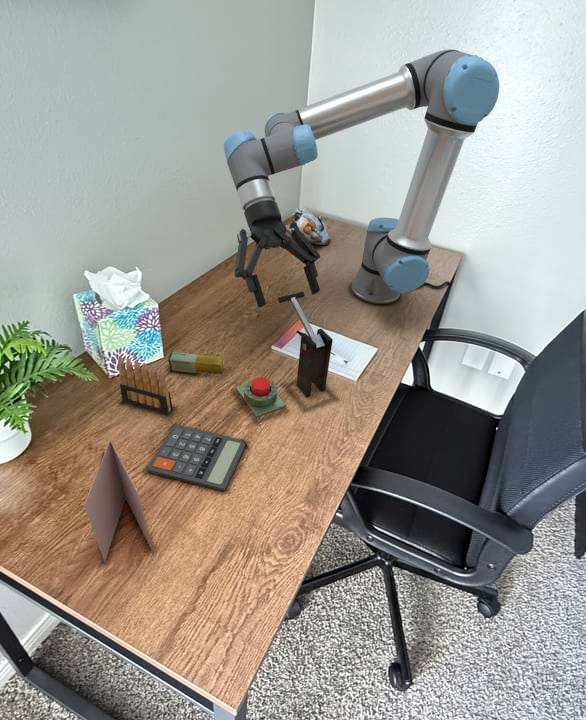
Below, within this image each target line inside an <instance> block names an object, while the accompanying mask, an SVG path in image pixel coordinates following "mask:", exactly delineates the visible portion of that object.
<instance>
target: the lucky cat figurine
mask: <svg viewBox="0 0 586 720" xmlns="http://www.w3.org/2000/svg"><path fill="white" fill-rule="evenodd" d="M294 222H296V223H297V226H298V228H299V230H300V231H301V233H302V234H303V235H304V236H305V237H306V239H307V240H308V241H309V242H310V243H311V244H313V245H322V246H327V245H328V243H329V242H330V240H332V237H331V235H330V233H329V232H328V228H327V225H326V223H324V221H323V218H322V216H321V215H319V216H316V215H315V214H314V213H313V212H312V211H308V210H304V211H303V210H302V211H301V209H300V208H294Z"/></svg>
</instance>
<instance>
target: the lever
mask: <svg viewBox="0 0 586 720" xmlns="http://www.w3.org/2000/svg"><path fill="white" fill-rule="evenodd" d="M305 296H306V295H305V292H304V291H298V292H295V293H290V294H285V295H282V296H279V297H278V298H277V301H278V303H279V304H283V303H287V302H290V304H291V306H292V308H293V311H294V312H295V313H296V315H297V317H298V319H299V321H300V323H301V325H302V327H303V329H304V330H305V332H306V334H307V335H308V336H309V337H310V338H311V339H312V340H313V341H314V342H315V343H316V344H317V346H316V352H318V351H321V350H322V349H323V348H324V346H325V343H324V342H323V340H322V338H321V336H320V334H318V335H317V334H316V333H315V332H314V330H313V328H312V326H311V324H310V322H309V319H307V317H306V315H305V312H304V311H303V309H302V307H301V305H300V304H299V302H298V299H303V298H305Z"/></svg>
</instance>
